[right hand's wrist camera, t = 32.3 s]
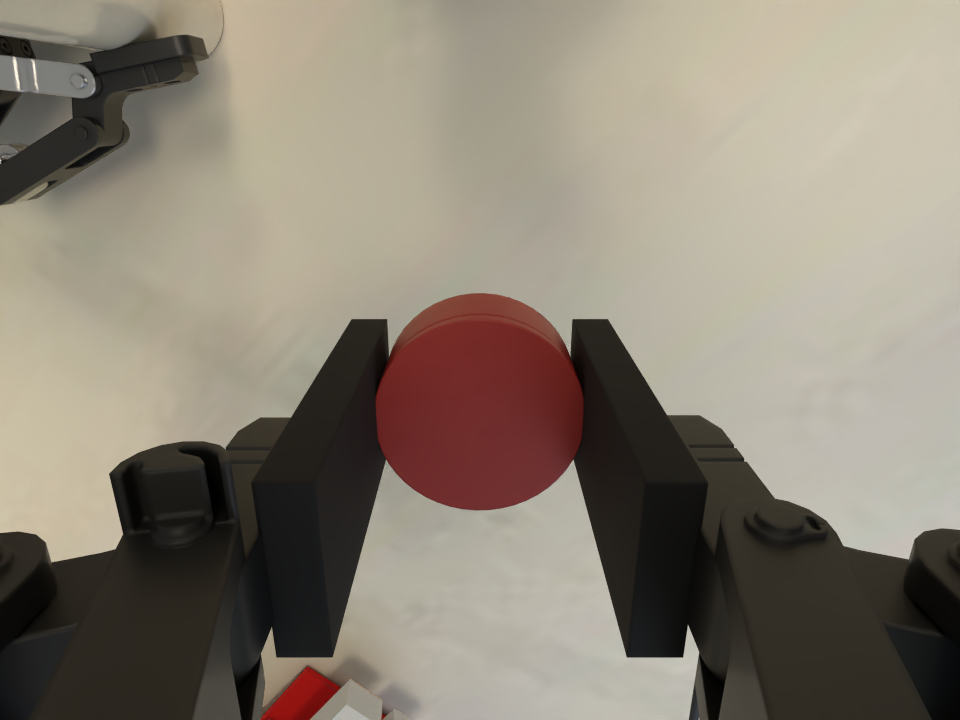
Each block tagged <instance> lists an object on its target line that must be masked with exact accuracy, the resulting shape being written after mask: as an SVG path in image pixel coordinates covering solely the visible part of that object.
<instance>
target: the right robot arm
mask: <svg viewBox="0 0 960 720" xmlns="http://www.w3.org/2000/svg"><path fill="white" fill-rule="evenodd" d="M570 358H571V360H572V363H573V366H574V368H575V371H576V374H577V377H578V379H579V382H580V385H581V388H582V392H583V395H584V411H583V426H582V440H581V444H580V447H579V449H578V451H577V453H576V455H575V457H574V463H575V466H576V470H577V474H578V477H579V481H580V485H581V489H582V492H583V496H584V500H585V503H586V507H587V511H588V515H589V518H590V522H591V526H592V529H593V533H594V537H595V541H596V544H597V548H598V552H599V555H600V559H601V563H602V567H603V570H604V574H605V578H606V581H607V585H608V589H609V593H610V596H611V600H612V604H613V607H614V611H615V615H616V619H617V622H618V626H619V630H620V633H621V637H622V641H623V645H624V648H625V652H626V656H627V657H683V654H684V647H685V641H686V634H687V627H688V625H689V628H690V630H691V633H692V635H693V637H694V640H695V642H696V645H697V647H698V650H699V658H698V664H697V671H696V677H695V684H694V690H693V696H692V703H691V709H690V716H689V720H698V719H699V718H700V720H960V530H954V529H936V530H930V531H924V532H923V533H922V534H921V535H919V536H918V537H917V538H916V539H915V540H914V544H913V547H912V551H911V554H910V558H909V560H908V559H903V558H897V557H892V556H887V555H882V554H877V553H871V552H866V551H861V550H857V549H853V548H849V547H845V546H843V545H842V543H841V541H840V539H839V537H838V535H837V533H836V532H835V531H834V530H833V528H832V527H831V526H830V525H829V524H828V522H827V521H826V520H824V519H823V518H821V517H820V516H818V515H817V514H815V513H813V512H812V511H810V510H809V509H806V508H804V507H801V506H799V505H796V504H793V503H791V502H788V501H784V500H779V499H775V498H774V497H773V496H772V494H771V493H770V492H769V490H768V489H767V488H766V486H765V485H764V484H763V483H762V481H761V480H760V479H759V477H758V476H757V475H756V473H755V472H754V471H753V469H752V468H751V467H750V465H749V464H748V463H747V462H744V458H743V456H742V455H741V454H740V452H739V451H738V450H737V448H734V445H733V443H732V442H731V441H730V439H729V438H728V437H727V435H726V434H725V433H724V431H723V430H722V429H721V428H719V427H717V426H716V425H714V424H713V423H711V422H709V421H708V420H706V419H704V418H703V417H701V416H699V415H667V414H666V413H665V411H664V410H663V408H662V406H661V405H660V403H659V401H658V400H657V398H656V397H655V395H654V393H653V392H652V390H651V389H650V387H649V385H648V384H647V382H646V380H645V379H644V377H643V376H642V374H641V372H640V371H639V369H638V367H637V366H636V364H635V363H634V361H633V359H632V358H631V356H630V354H629V353H628V351H627V350H626V348H625V346H624V345H623V343H622V342H621V340H620V338H619V337H618V335H617V333H616V332H615V330H614V329H613V327H612V325H611V324H610V322H609V320H608V319H573V320H572V339H571V357H570ZM388 359H389V347H388V328H387V319H352V320H351V321H350V323H349V325H348V326H347V328H346V329H345V331H344V333H343V334H342V336H341V338H340V339H339V341H338V342H337V344H336V346H335V347H334V349H333V350H332V352H331V354H330V355H329V357H328V359H327V360H326V362H325V363H324V365H323V367H322V368H321V370H320V372H319V373H318V375H317V376H316V378H315V380H314V381H313V383H312V385H311V386H310V388H309V389H308V391H307V393H306V394H305V396H304V397H303V399H302V401H301V402H300V404H299V406H298V407H297V409H296V410H295V412H294V414H293V415H292V417H291V418H259V419H257V420H256V421H254V422H252V423H251V424H249V425H248V426H246V427H244V428H243V429H241V430H239V431H238V432H237V433H236V435H235V436H234V437H233V439H232V440H231V441H230V443H229V444H228V445H227V447H226V450H225V449H224V448H223V447H221V446H220V445H217V444H212V443H208V442H178V443H172V444H166V445H160V446H157V447H154V448H151V449H148V450H145V451H142V452H139V453H137V454H135V455H134V456H132V457H130V458H128V459H126V460H124V461H123V462H121V463H120V464H119V465H118V466H117V467H116V468H115V469H114V470H113V471H112V472H111V473H110V474H109V475H110V479H111V484H112V488H113V492H114V496H115V501H116V505H117V509H118V513H119V518H120V522H121V526H122V530H123V536H122V538H121V540H120V542H119V544H118V546H117V548H116V549H115V550H111V551H107V552H103V553H99V554H93V555H88V556H83V557H78V558H73V559H68V560H62V561H57V562H52V563H51V560H50V556H49V553H48V549H47V546H46V542H44V541H43V540H42V539H41V538H40V537H38V536H37V535H35V534H29V533H24V532H8V533H0V720H261V712H262V704H263V696H264V689H265V678H264V671H263V664H262V658H261V652H262V650H263V647H264V645H265V642H266V640H267V637H268V635H269V632H270V630H271V627H272V630H273V637H274V644H275V650H276V657H333V654H334V650H335V647H336V643H337V639H338V635H339V632H340V628H341V624H342V621H343V617H344V613H345V609H346V606H347V602H348V598H349V595H350V591H351V587H352V583H353V580H354V576H355V572H356V569H357V565H358V561H359V557H360V554H361V550H362V546H363V543H364V539H365V535H366V532H367V528H368V524H369V520H370V517H371V513H372V509H373V506H374V502H375V498H376V494H377V491H378V487H379V483H380V480H381V476H382V472H383V468H384V465H385V461H386V458H385V456H384V454H383V453H382V450H381V448H380V445H379V443H378V434H377V418H376V393H377V389H378V386H379V384H380V381H381V378H382V376H383V373H384V370H385V367H386V365H387V362H388Z"/></svg>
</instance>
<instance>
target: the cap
mask: <svg viewBox="0 0 960 720" xmlns="http://www.w3.org/2000/svg"><path fill="white" fill-rule="evenodd" d="M583 411H584V395H583V392H582V388H581V385H580V382H579V379H578V377H577V374H576V371H575V368H574V366H573V363H572V360H571V358H570V355H569V352H568V350H567V348H566V345H565V343H564V341H563V340H562V338H561V336H560V335H559V333H558V332H557V330H556V329H555V328H554V327H553V325H552V324H551V323H550V322H549V321H548V320H547V319H546V318H545V317H543V316H542V315H541V314H540V313H538V312H537V311H536V310H534V309H533V308H531V307H529V306H527V305H525V304H524V303H522V302H519V301H517V300H514V299H511V298H509V297H504V296H500V295H495V294H485V293H477V294H465V295H459V296H455V297H451V298H448V299H445V300H443V301H440V302H438V303H436V304H434V305H432V306H430V307H429V308H427V309H425V310H424V311H422V312H421V313H420V314H419V315H417V316H416V317H415V318H414V319H413V320H412V321H411V322H410V323H409V324H408V325H407V326H406V327H405V328H404V330H403V331H402V333H401V334H400V335H399V337H398V339H397V340H396V342H395V344H394V346H393V348H392V351H391V354H390V357H389V359H388V362H387V365H386V367H385V370H384V373H383V376H382V378H381V381H380V384H379V386H378V389H377V393H376V418H377V434H378V443H379V445H380V448H381V450H382V453H383V454H384V456H385V458H386V460H387V461H388V463H389V465H390V466H391V467H392V469H393V470H394V471H395V473H396V474H397V475H398V476H399V477H400V478H401V479H402V480H403V481H404V482H405V483H406V484H408V485H409V486H410V487H411V488H413V489H414V490H415V491H417V492H418V493H420V494H422V495H423V496H425V497H427V498H429V499H431V500H433V501H435V502H438V503H441V504H444V505H447V506H450V507H455V508H460V509H467V510H493V509H500V508H505V507H509V506H513V505H516V504H519V503H521V502H524V501H527V500H528V499H530V498H532V497H534V496H536V495H538V494H540V493H541V492H543V491H544V490H545V489H547V488H548V487H550V486H551V485H552V484H553V483H554V482H555V481H556V480H558V478H559V477H560V476H561V475H562V474H563V473H564V472H565V471H566V469H567V468H568V466H569V465H570V464H571V462H572V461H573V459H574V457H575V455H576V453H577V451H578V449H579V447H580V444H581V440H582V426H583Z"/></svg>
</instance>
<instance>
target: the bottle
mask: <svg viewBox="0 0 960 720" xmlns="http://www.w3.org/2000/svg"><path fill="white" fill-rule="evenodd" d="M222 30H223V11H222V6H221V3H220V0H0V35H2V36H8V37H15V38H21V39H28V40H34V41H40V42H47V43H53V44H60V45H66V46H73V47H79V48H86V49H92V50H99V51H104V50H110V49H115V48H118V47H123V46H128V45H132V44H137V43H142V42H146V41H151V40H156V39H160V38H165V37H170V36H175V35H191V36H195V37H199V38H203V40H204V43H205V47H206V50H207V53H208V55H209V54H210V53H211V52H212V51H213V50H214V49H215V47H216V46H217V44H218V42H219V40H220V37H221V35H222ZM195 62H197V61H195Z"/></svg>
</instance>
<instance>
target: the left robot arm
mask: <svg viewBox="0 0 960 720" xmlns="http://www.w3.org/2000/svg"><path fill="white" fill-rule="evenodd" d="M90 56H91V59H92V61H89V62H84V63H80V64H74V63H65V62H57V61H48V60H39V59H36V57H35V55H34V52H33V50H32V47H31V45H30V42H29V40H28V39H21V38H15V37H8V36H2V35H0V126H1V125H2V123H3V122H4V120H5V118H6V117H7V115H8V114H9V112H10V111H11V109H12V108H13V106H14V104H15V103H16V101H17V100H18V98H19V97H20V95H21V93H22V92H27V93H39V94H48V95H57V96H66V97H72V112H73V119H71V120H69V121H68V122H66V123H65V124H63V125H61V126H60V127H58V128H57V129H55V130H54V131H52V132H51V133H49V134H47V135H46V136H44V137H43V138H41V139H40V140H38V141H36V142H35V143H33V144H32V145H30V146H29V147H28V146H27V145H24V144H21V143H15V144H2V145H1V144H0V206H1V205H6V204H12V203H17V202H22V201H26V200H31V199H36V198H39V197H40V196H42V195H43V194H45V193H47V192H48V191H50V190H52V189H53V188H55V187H56V186H58V185H60V184H61V183H63V182H64V181H66V180H68V179H69V178H71V177H73V176H74V175H76V174H77V173H79V172H81V171H82V170H84V169H86V168H87V167H89V166H90V165H92V164H94V163H95V162H97V161H98V160H100V159H102V158H103V157H105V156H107V155H108V154H110V153H111V152H113V151H115V150H116V149H118V148H120V147H121V146H123V145H124V144H126V143H127V142H128V140H129V136H130V132H129V128H128V126H127V124H126V123H125V122H124V121H123V120H122V105H123V102H124V100H125V98H126V97H127V96H128V95H130V94H132V93H135V92H140V91H144V90H149V89H154V88H159V87H164V86H168V85H173V84H178V83H183V82H187V81H190V80H191V79H192V78H193V77H195V76H196V75H197V74H199V73H198V70H197V66H196V63H195V61H200V60H204V59H207V58H209V57H208V53H207V50H206V47H205V43H204V40H203V38H199V37H195V36H191V35H175V36H170V37H165V38H160V39H156V40H151V41H146V42H142V43H137V44H132V45H128V46H123V47H118V48H115V49H110V50H104V51H100V52H95V53H90Z"/></svg>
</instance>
